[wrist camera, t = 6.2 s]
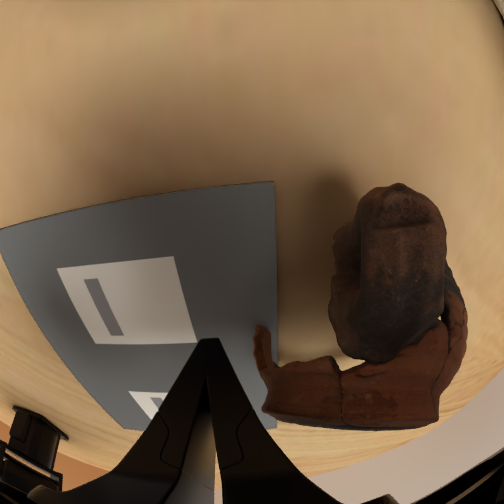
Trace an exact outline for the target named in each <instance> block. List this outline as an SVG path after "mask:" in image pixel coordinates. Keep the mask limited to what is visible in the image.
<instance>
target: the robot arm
mask: <svg viewBox="0 0 504 504" xmlns="http://www.w3.org/2000/svg"><path fill="white" fill-rule="evenodd" d="M12 409H13V410H14V411H15V412H16V414H15V417H14V420H13V423H12V426H11V429H10V433H9V434H10V440H9V443H8V444H7V443H6V442H4V441H1V440H0V504H214V481H215V455H216V452H217V458H218V464H219V469H220V475H221V482H222V497H223V504H343V503H341V502H339V501H337V500H336V499H334V498H333V497H332V496H330V495H329V494H327V493H326V492H325V491H323V490H322V489H321V488H319V487H318V486H317V485H315V484H314V483H313V482H311V481H310V480H309V479H308V478H307V477H305V476H304V475H303V474H302V473H301V472H300V471H299V470H298V469H297V468H296V467H295V466H294V464H293V463H292V462H291V461H290V460H289V459H288V457H287V456H286V455H285V454H284V453H283V451H282V450H281V449H280V448H279V446H278V445H277V444H276V443H275V441H274V440H273V439H272V437H271V436H270V435H269V433H268V432H267V431H266V429H265V428H264V426H263V424H262V423H261V421H260V419H259V418H258V416H257V414H256V412H255V410H254V409H253V406H252V404H251V403H250V401H249V399H248V397H247V395H246V393H245V391H244V389H243V387H242V385H241V383H240V381H239V379H238V377H237V375H236V373H235V371H234V369H233V366H232V364H231V362H230V360H229V358H228V356H227V354H226V352H225V350H224V347H223V345H222V343H221V341H220V339H219V338H218V337H216V338H203V339H200V340H199V341H198V343H197V345H196V346H195V348H194V350H193V352H192V353H191V355H190V357H189V358H188V360H187V362H186V363H185V365H184V367H183V368H182V370H181V372H180V373H179V375H178V377H177V378H176V380H175V382H174V383H173V385H172V387H171V389H170V390H169V392H168V394H167V395H166V397H165V399H164V400H163V402H162V404H161V405H160V407H159V409H158V411H157V412H156V414H155V415H154V417H153V419H152V420H151V422H150V423H149V425H148V427H147V428H146V430H145V431H144V432H143V434H142V435H141V436H140V438H139V439H138V440H137V442H136V443H135V444H134V445H133V447H132V448H131V449H130V450H129V452H128V453H127V454H126V455H125V457H124V458H123V459H122V460H121V462H120V463H119V464H118V465H117V466H116V467H115V468H114V469H113V470H111V471H110V472H109V473H107V474H105V475H103V476H101V477H99V478H97V479H95V480H92V481H90V482H88V483H86V484H83V485H81V486H79V487H76V488H74V489H72V490H69V491H64V492H62V479H63V478H62V477H63V474H61V473H58V472H55V471H53V468H54V463H55V458H56V453H57V449H58V445H59V441H60V439H63V440H67V441H68V440H69V438H68V437H67V436H66V435H64V434H63V433H62V432H60V431H59V430H58V429H57V428H56V427H54V426H53V425H52V424H51V423H49V422H48V421H47V420H46V419H45V418H44V417H42V416H40V415H37V414H34V413H31V412H29V411H26V410H23V409H20V408H18V407H15V406H13V408H12ZM5 450H7V451H9V452H10V453H12V454H13V455H15V456H17V457H18V458H20V459H22V460H23V461H25V462H27V463H29V464H30V465H32V466H34V467H36V468H38V469H40V470H42V471H44V472H45V473H48V474H50V475H51V476H50V477H47V476H46V475H43V474H42V473H40V472H38V471H36V470H34V469H32V468H30V467H28V466H27V465H25V464H23V463H21V462H20V461H18V460H16V459H14V458H13V457H11V456H10V455H8V454H7V453H5ZM3 459H5V461H4V460H3ZM362 504H399V503H398V502H397V501H396V500H395V499H394V498H393V497H392V496H391V495H390V494H386V495H383V496H381V497H378V498H376V499H373V500H370V501H367V502H364V503H362ZM411 504H504V448H502V449H500V450H499V451H498V452H496V453H495V454H493V455H492V456H490V457H488V458H487V459H485V460H484V461H482V462H480V463H479V464H478V465H476V466H474V467H473V468H471V469H469V470H468V471H466V472H465V473H463V474H462V475H460V476H458V477H457V478H455V479H454V480H452V481H451V482H449V483H448V484H446V485H444V486H443V487H441V488H439V489H437V490H436V491H434V492H432V493H430V494H428V495H427V496H425V497H423V498H421V499H419V500H417V501H415V502H413V503H411Z"/></svg>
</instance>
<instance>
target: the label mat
mask: <svg viewBox="0 0 504 504" xmlns="http://www.w3.org/2000/svg"><path fill="white" fill-rule="evenodd" d="M0 253H1V255H2V257H3V260H4V262H5V264H6V267H7V269H8V271H9V273H10V275H11V277H12V279H13V281H14V283H15V285H16V287H17V289H18V291H19V293H20V295H21V297H22V299H23V301H24V302H25V304H26V306H27V308H28V309H29V311H30V313H31V315H32V316H33V318H34V320H35V321H36V323H37V324H38V326H39V328H40V329H41V331H42V332H43V334H44V335H45V337H46V338H47V340H48V341H49V343H50V344H51V346H52V347H53V349H54V350H55V351H56V353H57V354H58V355H59V357H60V358H61V360H62V361H63V362H64V364H65V365H66V366H67V367H68V369H69V370H70V371H71V372H72V374H73V375H74V376H75V377H76V379H77V380H78V381H79V382H80V383H81V385H82V386H83V387H84V388H85V389H86V390H87V392H88V393H89V394H90V395H91V396H92V397H93V398H94V399H95V400H96V402H97V403H98V404H99V405H100V406H101V407H102V408H103V409H104V410H105V411H106V412H107V413H108V414H109V415H110V416H111V417H112V418H113V419H114V420H115V421H116V422H117V423H118V424H119V425H120V426H121V427H122V428H123V429H131V430H140V431H145V430H146V428H147V427H148V425H149V423H150V422H151V420H152V419H153V417H154V415H155V414H156V412H157V411H158V409H159V407H160V405H161V404H162V402H163V400H164V399H165V397H166V395H167V394H168V392H169V390H170V389H171V387H172V385H173V383H174V382H175V380H176V378H177V377H178V375H179V373H180V372H181V370H182V368H183V367H184V365H185V363H186V362H187V360H188V358H189V357H190V355H191V353H192V352H193V350H194V348H195V346H196V345H197V343H198V341H199V340H200V339H203V338H216V337H218V338H219V339H220V341H221V343H222V345H223V347H224V350H225V352H226V354H227V356H228V358H229V360H230V362H231V364H232V366H233V369H234V371H235V373H236V375H237V377H238V379H239V381H240V383H241V385H242V387H243V389H244V391H245V393H246V395H247V397H248V399H249V401H250V403H251V404H252V406H253V409H254V410H255V412H256V414H257V416H258V418H259V419H260V421H261V423H262V424H263V426H264V428H265V429H273V428H277V420H276V419H275V418H274V417H272V416H270V415H269V414H266V413H263V412H262V410H261V407H262V405H263V404H264V402H265V399H266V396H267V393H268V390H267V387H266V385H265V383H264V381H263V379H261V377H260V374H259V372H258V369H257V365H256V361H255V358H254V356H253V351H254V343H253V337H254V335H255V326H256V325H261V326H263V327H265V328H266V329H267V330H269V331H270V333H271V351H272V359H273V362H275V363H276V364H277V365H278V316H277V257H276V222H275V194H274V182H273V181H269V182H257V183H245V184H235V185H225V186H215V187H207V188H198V189H191V190H183V191H176V192H169V193H162V194H155V195H149V196H143V197H137V198H131V199H125V200H120V201H114V202H109V203H104V204H99V205H94V206H89V207H84V208H80V209H75V210H71V211H66V212H62V213H58V214H54V215H50V216H46V217H42V218H38V219H34V220H30V221H26V222H23V223H19V224H16V225H12V226H9V227H5V228H2V229H0Z"/></svg>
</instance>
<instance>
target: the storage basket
mask: <svg viewBox="0 0 504 504" xmlns="http://www.w3.org/2000/svg"><path fill="white" fill-rule="evenodd" d="M493 1H494V3H495V4H496V6H497V8H498V10H499V11H500V13H501V15H502V16H503V19H504V0H493Z"/></svg>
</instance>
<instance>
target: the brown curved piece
mask: <svg viewBox="0 0 504 504" xmlns="http://www.w3.org/2000/svg"><path fill="white" fill-rule="evenodd" d="M446 234H447V232H446V228H445V224H444V221H443V218H442V216H441V214H440V211H439V209H438V208H437V206H436V205H435V204H434V203H433V202H432V201H431V200H430V199H429V198H427V197H426V196H425V195H423V194H421V193H418V192H416V191H414V190H413V189H411V188H409V187H407V186H406V185H404V184H402V183H396V184H393V185H391V186H388V187H376V188H374V189H372V190H370V191H369V192H368V193H367V194H366V195H364V196H363V197H362V198H361V199H360V201H359V203H358V207H357V211H356V215H355V218H354V220H353V221H352V222H349V223H347V224H346V225H344V226H342V227H341V228H340V229H339V230H338V231H336V232H335V233H334V236H333V239H334V240H335V241H334V243H333V252H334V257H335V267H336V272H335V274H334V275H333V277H332V283H331V300H330V302H329V307H328V315H329V319H330V321H331V324H332V326H333V329H334V331H335V334H336V338H337V342H338V345H339V347H340V348H341V350H342V351H343V353H344V354H345V355H347V356H349V357H351V358H353V359H360V360H365V361H366V362H364V363H362V364H360V365H357V366H355V367H352V368H350V369H347V370H345V371H341V370H340V369H339V366H338V365H337V363H336V360H335V359H334V358H333V357H332V356H324V357H320V358H317V359H314V360H311V361H307V362H299V361H296V362H292V363H288V364H286V365H284V366H282V367H279V366H278V365H277V364H276V363H275V362H273V359H272V351H271V333H270V331H269V330H267V329H266V328H265V327H263V326H261V325H256V326H255V335H254V337H253V343H254V351H253V356H254V358H255V361H256V365H257V369H258V372H259V374H260V377H261V379H263V381H264V383H265V385H266V387H267V390H268V393H267V396H266V399H265V402H264V404H263V405H262V407H261V410H262V412H263V413H266V414H269V415H270V416H272V417H274V418H275V419H276V420H279V421H282V422H287V423H295V424H299V425H303V426H311V427H322V428H331V429H341V430H361V431H385V430H405V429H416V428H420V427H424V426H427V425H428V424H431V423H435V422H437V421H438V420H439V398H440V395H441V394H442V392H443V391H444V390H445V389H446V388H447V387H448V386H449V384H450V383H451V381H452V379H453V377H454V376H455V374H456V373H457V372H458V370H459V368H460V366H461V362H462V359H463V357H464V355H465V352H466V347H467V346H466V340H467V336H468V329H467V320H468V315H467V311H466V308H465V304H464V300H463V298H462V295H461V293H460V289H459V287H458V286H457V284H456V282H455V279H454V278H453V274H452V271H451V269H450V267H449V266H448V264H447V261H446V254H447V245H446ZM439 316H440V317H441V320H439V319H438V318H439Z"/></svg>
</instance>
